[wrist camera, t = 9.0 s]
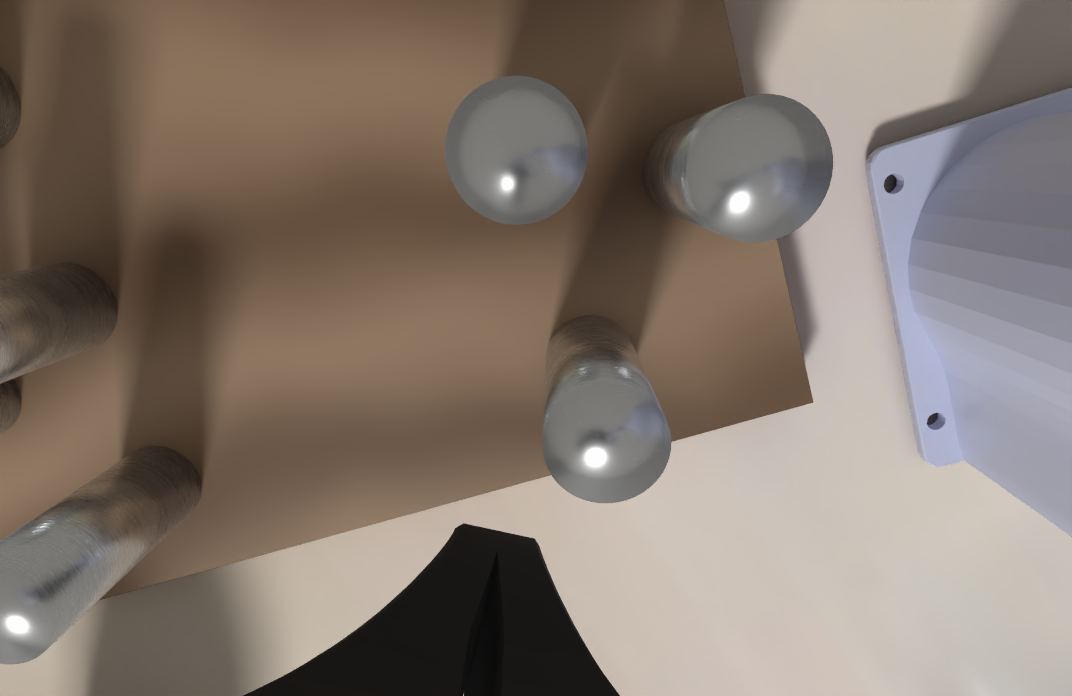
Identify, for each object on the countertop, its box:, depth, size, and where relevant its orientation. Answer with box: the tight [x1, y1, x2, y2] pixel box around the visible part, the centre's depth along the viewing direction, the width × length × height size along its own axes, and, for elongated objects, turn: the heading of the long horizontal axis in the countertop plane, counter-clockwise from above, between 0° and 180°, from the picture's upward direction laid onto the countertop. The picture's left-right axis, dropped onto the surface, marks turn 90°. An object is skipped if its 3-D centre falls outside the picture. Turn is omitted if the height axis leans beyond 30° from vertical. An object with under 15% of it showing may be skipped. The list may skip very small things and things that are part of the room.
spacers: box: [0, 67, 833, 664], centre depth 15 cm, size 13×23×6 cm, turn 107°
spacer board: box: [0, 0, 813, 600], centre depth 19 cm, size 16×24×2 cm, turn 107°
